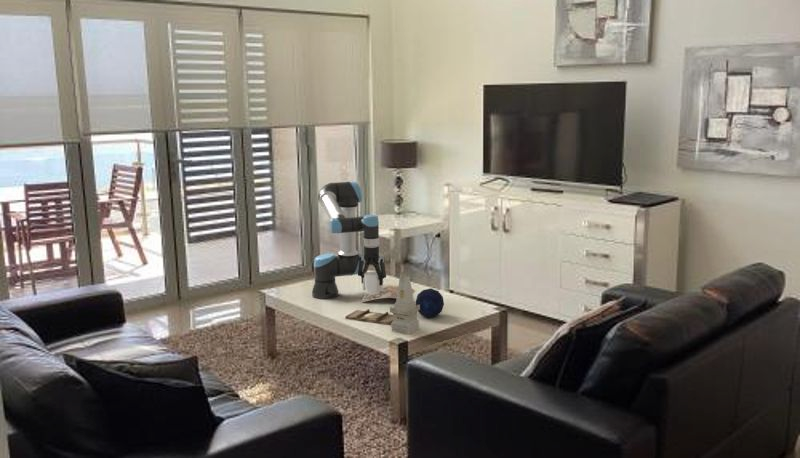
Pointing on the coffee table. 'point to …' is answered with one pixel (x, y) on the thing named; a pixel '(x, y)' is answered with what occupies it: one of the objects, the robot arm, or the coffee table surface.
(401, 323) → the miniature monument
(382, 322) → the brown wooden board
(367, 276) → the white cup
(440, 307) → the decorative orb
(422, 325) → the coffee table surface
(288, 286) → the coffee table surface
